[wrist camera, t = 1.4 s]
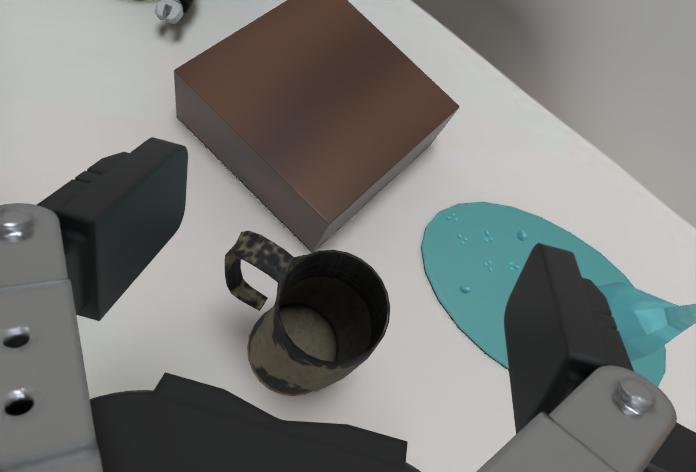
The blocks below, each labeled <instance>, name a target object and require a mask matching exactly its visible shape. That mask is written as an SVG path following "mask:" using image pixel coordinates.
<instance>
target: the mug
mask: <svg viewBox="0 0 696 472" xmlns="http://www.w3.org/2000/svg"><path fill="white" fill-rule="evenodd" d="M241 259H242V260H245V261H246V262H248V263H250V264H252V265H253V266H255V267H257V268H258V269H260V270H261V271H263V272H264V273H266V274H268V275H269V276H270V277H271V278H273V279H274V280H275V281H277V282H278V288H277V297H276V302H275V304H274V306H273V308H271V309H270V310H268V311H267V312H266V313H264V314H263V315H262V316H261V318H260V319H259V320H258V321H257V322H256V324H255V325H254V327H253V329H252V331H251V334H250V336H249V342H248V347H247V348H248V359H249V362H250V365H251V368H252V370H253V372H254V374H255V375H256V377H257V378H258V379H259V381H260V382H261V383H263V384H264V385H265V386H266V387H268V388H269V389H270V390H273V391H275V392H277V393H280V394H284V395H292V396H294V395H301V394H306V393H308V392H312V391H317V390H319V389H321V388H324V387H326V386H328V385H330V384H332V383H334V382H336V381H339V380H341V379H343V378H344V377H345V376H347V375H348V374H349V373H350V372H352V371H353V370H354V369H356V368H357V367H358V366H359V365H360V364H362V363H363V362H364V361H365V360H367V359H368V357H369V356H370V355H371V353H372V352H373V351H374V349H375V348H376V347H377V345H378V344H379V342H380V341H381V339H382V338H383V337H384V335H385V332H386V329H387V326H388V323H389V316H390V303H389V298H388V293H387V290H386V288H385V286H384V284H383V282H382V279H381V278H380V277H379V275H378V274H377V273H376V272H375V270H374V269H373V268H372V267H371V266H370V265H368V264H367V263H366V262H365V261H363V260H362V259H361V258H358V257H356V256H354V255H352V254H350V253H347V252H342V251H336V250H325V251H318V252H315V253H312V254H309V255H303V256H298V257H293V256H292V255H291V254H289V253H288V252H287V251H286V250H284V249H283V248H281V247H280V246H278V245H277V244H275V243H274V242H272V241H270V240H268V239H267V238H265V237H263V236H261V235H259V234H256V233H254V232H251V231H245V232H241V234H240V236H239V238H238V240H237V242H236V244H235V245H234V246H233V247H232V248H231V249H230V251H229V252H228V253H227V254H226V255H225V278H226V284H227V287H228V288H229V290H230V292H231V294H233V295H234V296H235V297H236V298H238V299H239V300H241V301H242V302H244V303H246V304H248V305H250V306H252V307H253V308H255V309H257V310H259V311H260V310H261V308H262V307H263V305H264V303H265V302H266V300H267V299H268V298H267V297H266V296H264V295H263V294H261V293H260V292H258V291H257V290H255V289H254V288H252V287H251V286H249V285H248V284H247V283H246V282H245V280H244V279H243V277H242V273H241V269H240V265H241Z"/></svg>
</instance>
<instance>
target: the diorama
mask: <svg viewBox="0 0 696 472" xmlns="http://www.w3.org/2000/svg"><path fill="white" fill-rule="evenodd" d="M537 243H541V244H545V245H549V246H553V247H556V248H560V249H564V250H567V251H571V252H573V253H574V255H575V258H576V261H577V264H578V267H579V270H580V273H581V276H582V278H586V279H590V280H591V281H592V282H593V283H594V284H595V285H596V286H597V288H598V289H599V290H600V291H601V292H602V293H603V294H604V295H605V297H606V299H607V302H608V304H609V307H610V309H611V312H612V315H611V316H612V317H614V320H615V323H616V325H617V331H619V333H620V336H621V338H622V341H623V343H624V346H625V349H626V351H627V354H628V357H629V359H630V362H631V364H632V367H633V370H634V372H636V373H638V374H640V375H642V376H643V377H645V378H646V379H648V380H649V381H651V382H652V383H653V384H655V385H656V386H657V387H658V386H659V384H660V382H661V380H662V378H663V376H664V374H665V361H666V350H665V346H664V345H665V344H666V343H668V342H669V341H670V340H672V339H673V338H675V337H676V336H677V335H679V334H680V333H681V332H683V331H684V330H686V329H687V328H689V327H690V326H692V325H693V324H695V323H696V304H691V305H683V306H678V305H675V304H673V303H670V302H668V301H665V300H663V299H660V298H658V297H655V296H653V295H650V294H648V293H645V292H643V291H641V290H638V289H636V288H635V287H634V286H633V285H632V284H631V283H630V281H629V280H628V279H627V278H626V276H625V275H624V274H623V273H622V272H621V271H619V270H618V269H617V268H616V267H615V266H614V265H613V264H612V263H611V262H610V261H609V260H608V259H606V258H605V257H604V256H603V255H602V254H601V253H600V252H598V251H597V250H595V249H594V248H592V247H591V246H589V245H588V244H586V243H585V242H584V241H582V240H581V239H579V238H578V237H576V236H575V235H573V234H572V233H570V232H568V231H566V230H564V229H562V228H560V227H558V226H557V225H555V224H553V223H551V222H549V221H547V220H545V219H543V218H542V217H539V216H536V215H533V214H530V213H528V212H525V211H522V210H519V209H516V208H514V207H510V206H504V205H498V204H492V203H486V202H477V203H464V204H457V205H455V206H453V207H450V208H448V209H445V210H443V211H441V212H439V213H438V214H437V215H436V217H435V218H434V219H433V220H432V221H431V222H430V223H429V225H428V226H427V227H426V230H425V234H424V239H423V243H422V247H421V249H422V255H423V261H424V267H425V273H426V275H427V277H428V279H429V281H430V283H431V285H432V287H433V290H434V292H435V294H436V296H437V298H438V300H439V301H440V303H441V304H442V305H443V307H444V308H445V309H446V311H447V312H448V313H449V315H450V316H451V317H452V319H453V320H454V321H455V323H456V324H457V325H458V327H459V328H460V329H461V330H462V331H463V332H464V333H465V334H466V335H467V336H469V337H470V338H471V339H472V340H473V341H474V342H475V343H476V344H477V345H478V346H479V347H480V348H481V349H482V350H483V351H484V352H485V353H486V354H488V355H489V356H490V357H492V358H493V359H495V360H496V361H497V362H499V363H500V364H502V365H503V366H505V367H506V368H507V369H509V366H508V357H507V348H506V339H505V330H504V314H505V309H506V305H507V302H508V299H509V296H510V294H511V292H512V290H513V288H514V286H515V284H516V282H517V280H518V277H519V275H520V273H521V271H522V269H523V267H524V265H525V263H526V261H527V259H528V257H529V254H530V252H531V250H532V249H533V247H534V246H535V245H536V244H537Z"/></svg>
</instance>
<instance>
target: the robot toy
mask: <svg viewBox="0 0 696 472" xmlns="http://www.w3.org/2000/svg"><path fill="white" fill-rule="evenodd" d="M192 1H193V0H161V1H159V2H158V3H157V5H156V9H155V14H156V15H157V17H158V18H159V19H160V20H164V18H165V16H166V14H167V13H168V14H169V15H168V17H167V22H168V23H171V24H176V23H177V22H178V21H179V20H180V19H181V18H182V16H183V12H184V13H186V12H187V10H188V8H189V7H190V5H191V3H192Z"/></svg>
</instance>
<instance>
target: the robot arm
mask: <svg viewBox="0 0 696 472" xmlns="http://www.w3.org/2000/svg"><path fill="white" fill-rule="evenodd" d="M187 165H188V152H187V149H186V147H185V146H183V145H179V144H175V143H172V142H168V141H164V140H160V139H157V138H149V139H148V140H147V141H145V142H144V143H143V144H141V145H140V146H139V147H137V148H136V149H135V150H133V151H132V152H131V153H126V152H122V153H118V154H115V155H112V156H108V157H105V158H102V159H101V160H99V161H98V162H96V163H95V164H94V165H92V166H91V167H89V168H88V169H87V171H84V172H82V173H81V174H80V175H78V176H77V177H75V180H71V181H70V182H68V183H67V184H65V185H64V186H63V187H61V188H60V189H58V190H57V191H56V192H54V193H53V194H51V195H50V196H49V197H47V198H46V199H44V200H43V201H41V202H40V203H39V204H37V205H33V204H22V203H16V204H4V205H0V472H421V471H419V470H418V469H416V468H415V467H413V466H412V465H410V464H408V463H406V452H407V441H404V440H400V439H397V438H393V437H390V436H386V435H383V434H379V433H376V432H372V431H369V430H365V429H362V428H358V427H354V426H351V425H347V424H332V423H315V422H299V421H285V420H281V419H278V418H276V417H274V416H272V415H270V414H268V413H266V412H265V411H263V410H261V409H259V408H257V407H255V406H254V405H252V404H250V403H248V402H246V401H244V400H243V399H241V398H239V397H237V396H235V395H234V394H232V393H230V392H228V391H226V390H224V389H221V388H218V387H214V386H211V385H207V384H204V383H200V382H197V381H193V380H190V379H186V378H183V377H179V376H176V375H172V374H169V373H165V374H164V375H163V377H162V378H161V380H160V381H159V383H158V385H157V386H156V388H155V389H154V390H137V391H125V392H117V393H112V394H108V395H103V396H99V397H96V398H93V399H89V393H88V386H87V380H86V374H85V368H84V361H83V355H82V349H81V342H80V336H79V330H78V324H77V317H76V315H80V316H83V317H87V318H90V319H94V320H97V321H100V320H101V319H102V317H103V316H104V315H105V314H106V313H107V312H108V310H109V309H110V308H111V307H112V306H113V305H114V303H115V302H116V301H117V300H118V299H119V298H120V297H121V295H122V294H123V293H124V292H125V291H126V290H127V288H128V287H129V286H130V285H131V284H132V283H133V281H134V280H135V279H136V278H137V277H138V276H139V275H140V273H141V272H142V271H143V270H144V269H145V268H146V266H147V265H148V264H149V263H150V262H151V261H152V259H153V258H154V257H155V256H156V255H157V254H158V253H159V251H160V250H161V249H162V248H163V247H164V246H165V244H166V243H167V242H168V241H169V240H170V239H171V237H172V236H173V235H174V234H175V233H176V231H177V230H178V228H179V226H180V224H181V222H182V219H183V216H184V211H185V201H186V183H187ZM611 315H612V312H611V309H610V307H609V304H608V302H607V299H606V297H605V295H604V294H603V293H602V292H601V291H600V290H599V289H598V288H597V286H596V285H595V284H594V283H593V282H592V281H591V280H590V279H586V278H582V276H581V273H580V270H579V267H578V264H577V261H576V258H575V255H574V253H573V252H571V251H567V250H564V249H560V248H556V247H553V246H549V245H545V244H541V243H537V244H536V245H535V246H534V247H533V249H532V250H531V252H530V254H529V257H528V259H527V261H526V263H525V265H524V267H523V269H522V271H521V273H520V275H519V277H518V280H517V282H516V284H515V286H514V288H513V290H512V292H511V294H510V296H509V299H508V302H507V305H506V309H505V314H504V330H505V339H506V348H507V357H508V366H509V375H510V383H511V392H512V401H513V410H514V419H515V428H516V435H515V436H514V437H513V438H512V439H511V440H510V441H509V442H508V443H507V444H506V445H505V446H504V447H502V448H501V449H500V450H499V451H498V452H497V453H496V454H495V455H494V456H493V457H492V458H491V459H490V460H489V461H487V462H486V463H485V464H484V465H483V466H482V467H481V468H480V469H479V470H478V471H477V472H696V433H695V432H693V431H691V430H689V429H687V428H686V427H684V426H682V425H680V424H678V423H677V422H676V420H677V417H676V412H675V409H674V407H673V405H672V403H671V402H670V400H669V399H668V397H667V396H666V395H665V394H664V393H663V392H662V391H661V390H660V389H659V388H658V387H657V386H656V385H655V384H653V383H652V382H651V381H649V380H648V379H646V378H645V377H643V376H642V375H640V374H638V373H636V372H634V370H633V367H632V364H631V362H630V359H629V357H628V354H627V351H626V349H625V346H624V343H623V341H622V338H621V336H620V333H619V331H617V325H616V323H615V320H614V317H612V316H611Z"/></svg>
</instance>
